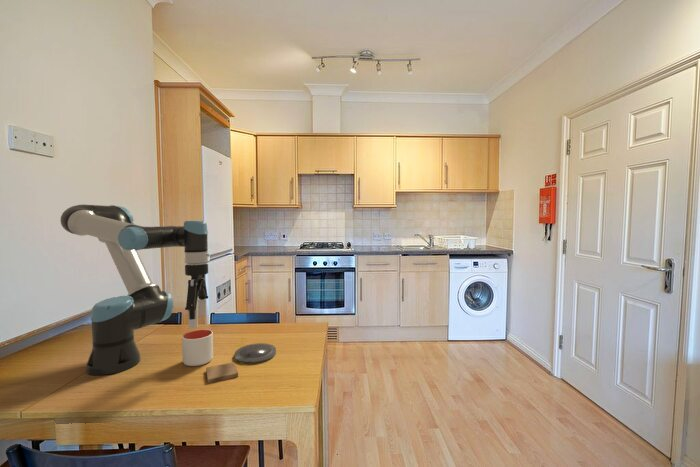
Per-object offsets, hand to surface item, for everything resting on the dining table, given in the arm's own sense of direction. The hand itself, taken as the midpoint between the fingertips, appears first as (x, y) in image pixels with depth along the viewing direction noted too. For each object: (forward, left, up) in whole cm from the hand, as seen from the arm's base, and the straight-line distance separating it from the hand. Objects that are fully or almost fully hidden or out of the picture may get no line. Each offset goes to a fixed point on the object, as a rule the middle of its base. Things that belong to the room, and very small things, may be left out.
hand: (198, 322), depth 114 cm
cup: (0, 0, -15) cm, 15 cm away
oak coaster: (+10, -12, -14) cm, 21 cm away
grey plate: (+20, +1, -14) cm, 25 cm away
